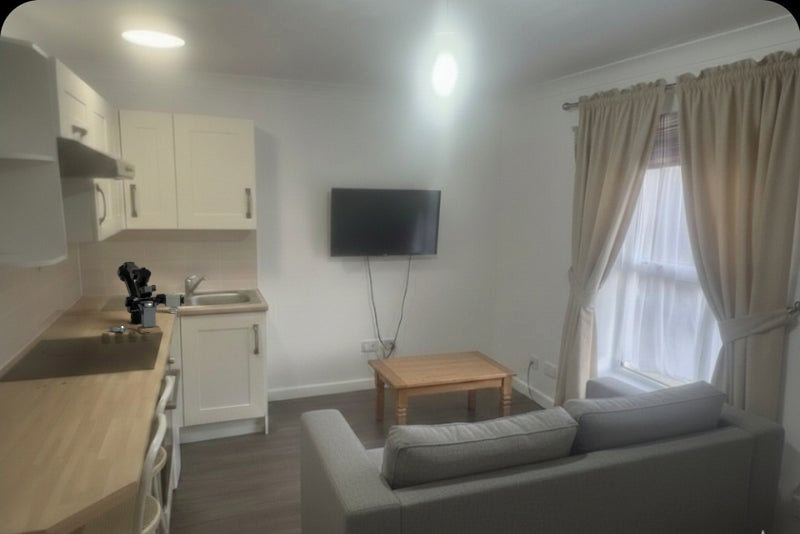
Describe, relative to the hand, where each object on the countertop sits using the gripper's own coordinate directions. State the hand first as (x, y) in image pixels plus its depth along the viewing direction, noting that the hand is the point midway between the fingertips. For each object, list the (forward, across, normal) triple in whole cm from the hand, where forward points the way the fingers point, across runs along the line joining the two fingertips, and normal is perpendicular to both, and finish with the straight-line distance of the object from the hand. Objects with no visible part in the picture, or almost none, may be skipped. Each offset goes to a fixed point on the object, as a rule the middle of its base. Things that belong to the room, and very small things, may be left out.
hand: (149, 313), depth 261 cm
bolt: (+1, -13, +12) cm, 18 cm away
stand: (+6, 0, +7) cm, 9 cm away
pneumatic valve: (-20, +24, +34) cm, 46 cm away
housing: (+4, 0, +6) cm, 7 cm away
